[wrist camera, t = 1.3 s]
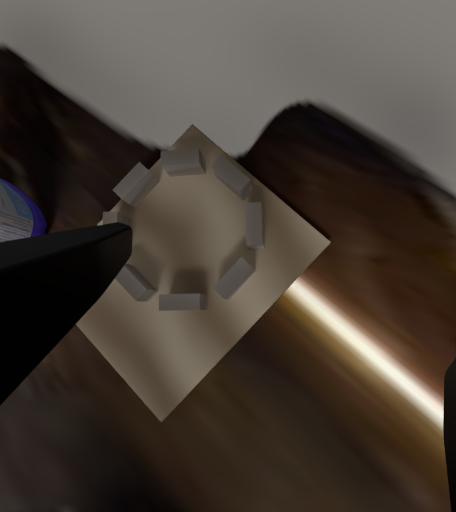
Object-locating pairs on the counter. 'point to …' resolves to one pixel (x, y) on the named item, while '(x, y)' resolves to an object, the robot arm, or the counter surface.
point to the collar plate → (193, 268)
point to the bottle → (18, 214)
